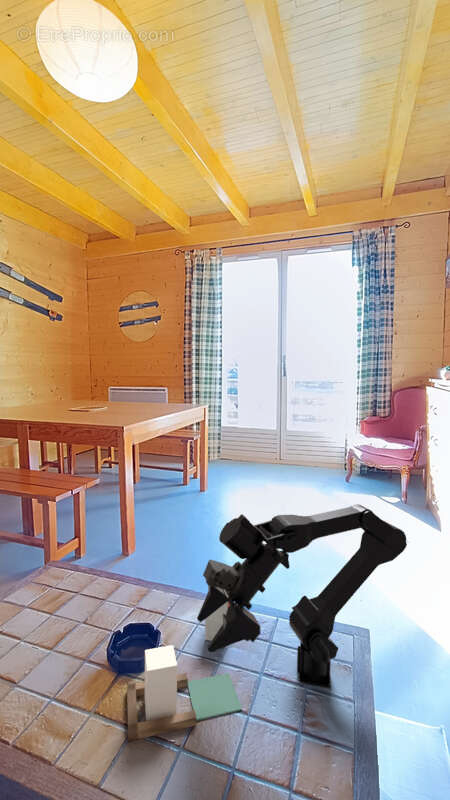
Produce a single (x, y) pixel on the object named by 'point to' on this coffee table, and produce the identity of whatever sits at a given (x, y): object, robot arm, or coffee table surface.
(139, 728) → the brown wooden frame
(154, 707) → the cream block
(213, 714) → the green mat
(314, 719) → the coffee table surface
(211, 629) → the small box
